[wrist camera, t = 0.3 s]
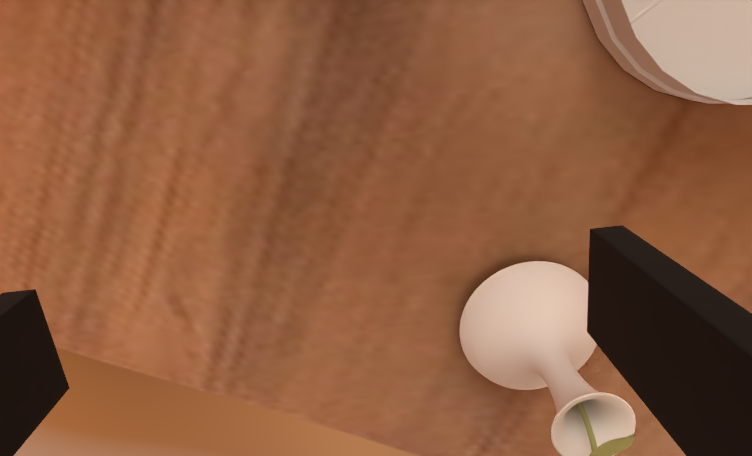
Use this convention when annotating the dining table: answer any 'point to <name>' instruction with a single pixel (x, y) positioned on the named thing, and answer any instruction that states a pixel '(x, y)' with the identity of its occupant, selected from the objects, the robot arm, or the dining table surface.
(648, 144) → the dining table surface
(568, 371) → the flower in vase
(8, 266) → the dining table surface
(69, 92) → the dining table surface
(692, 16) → the dish
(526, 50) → the dining table surface
